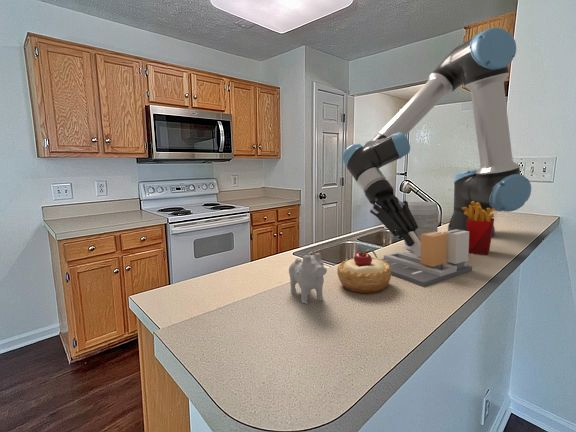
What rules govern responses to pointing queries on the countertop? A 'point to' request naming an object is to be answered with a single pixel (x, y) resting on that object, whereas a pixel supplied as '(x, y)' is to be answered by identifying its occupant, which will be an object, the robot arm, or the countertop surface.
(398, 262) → the console board
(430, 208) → the supplement tub
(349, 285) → the pastry
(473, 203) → the french fries
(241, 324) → the countertop surface
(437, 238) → the fader knob
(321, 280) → the dog figurine
